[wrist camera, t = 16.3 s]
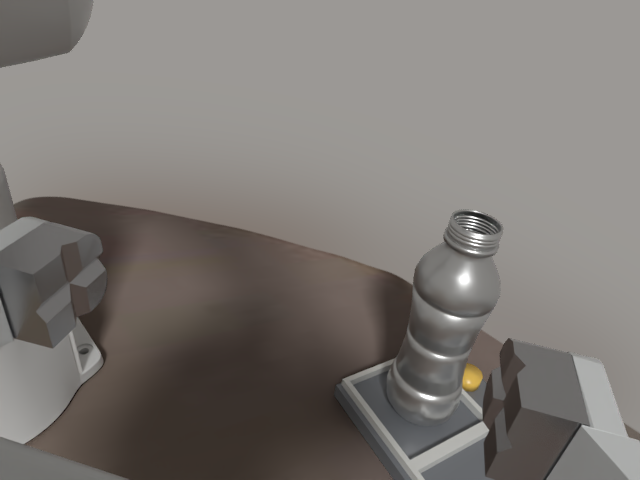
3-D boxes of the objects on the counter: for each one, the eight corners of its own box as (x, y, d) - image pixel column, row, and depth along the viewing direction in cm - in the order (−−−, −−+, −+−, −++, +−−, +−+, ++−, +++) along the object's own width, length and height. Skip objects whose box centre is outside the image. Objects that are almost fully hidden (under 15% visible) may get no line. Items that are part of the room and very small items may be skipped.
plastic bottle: (432, 450, 41) (506, 260, 30) (367, 404, 44) (413, 218, 34) (464, 405, 46) (539, 225, 35) (403, 367, 49) (454, 191, 38)
